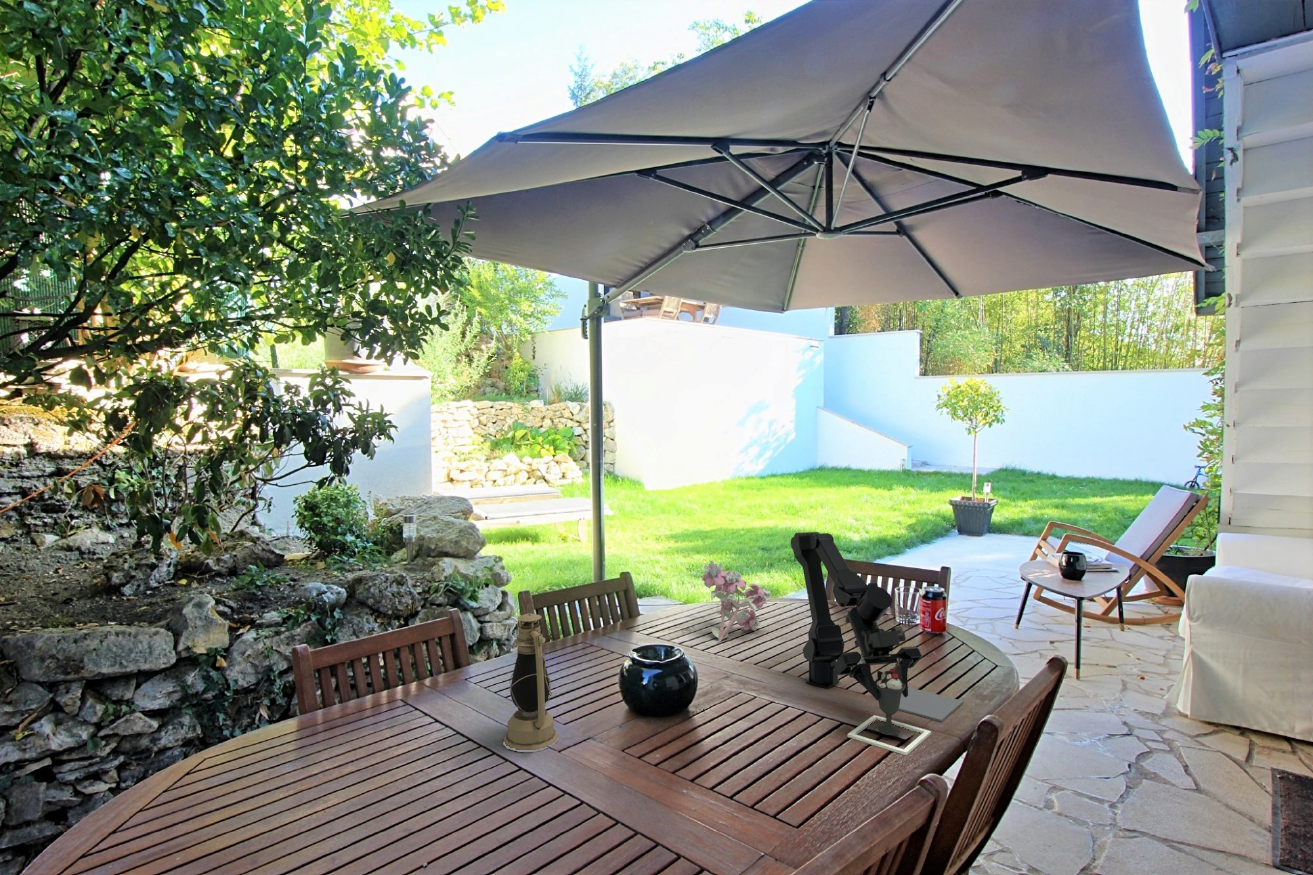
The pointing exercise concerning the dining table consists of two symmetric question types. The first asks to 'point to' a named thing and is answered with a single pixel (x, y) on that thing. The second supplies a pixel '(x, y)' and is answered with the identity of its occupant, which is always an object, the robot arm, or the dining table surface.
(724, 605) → the flower
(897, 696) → the sundae
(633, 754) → the dining table surface
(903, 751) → the stand rim
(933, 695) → the mat
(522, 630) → the lantern
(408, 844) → the dining table surface
